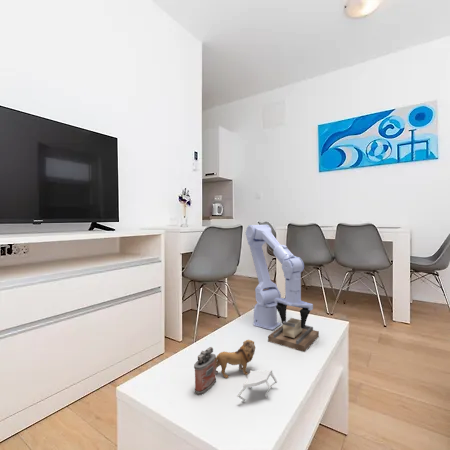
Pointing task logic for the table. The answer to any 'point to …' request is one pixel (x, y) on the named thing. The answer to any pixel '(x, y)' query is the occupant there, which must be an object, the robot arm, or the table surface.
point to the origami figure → (257, 380)
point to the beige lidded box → (292, 327)
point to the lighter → (205, 371)
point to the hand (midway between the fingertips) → (293, 325)
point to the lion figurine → (236, 357)
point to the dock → (299, 341)
